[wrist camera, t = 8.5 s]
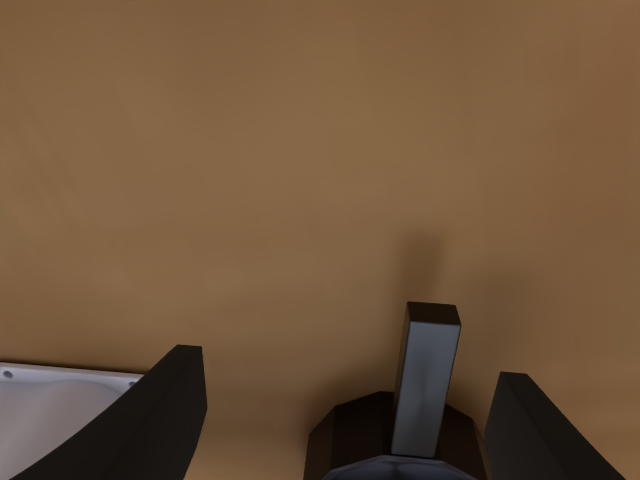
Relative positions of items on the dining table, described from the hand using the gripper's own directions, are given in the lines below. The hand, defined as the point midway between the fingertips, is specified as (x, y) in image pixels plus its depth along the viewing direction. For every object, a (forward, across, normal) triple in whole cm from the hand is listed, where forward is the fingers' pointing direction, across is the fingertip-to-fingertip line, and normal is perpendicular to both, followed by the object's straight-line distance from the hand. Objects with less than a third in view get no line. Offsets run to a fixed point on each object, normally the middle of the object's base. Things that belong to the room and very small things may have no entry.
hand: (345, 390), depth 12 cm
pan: (+10, -3, +11) cm, 16 cm away
